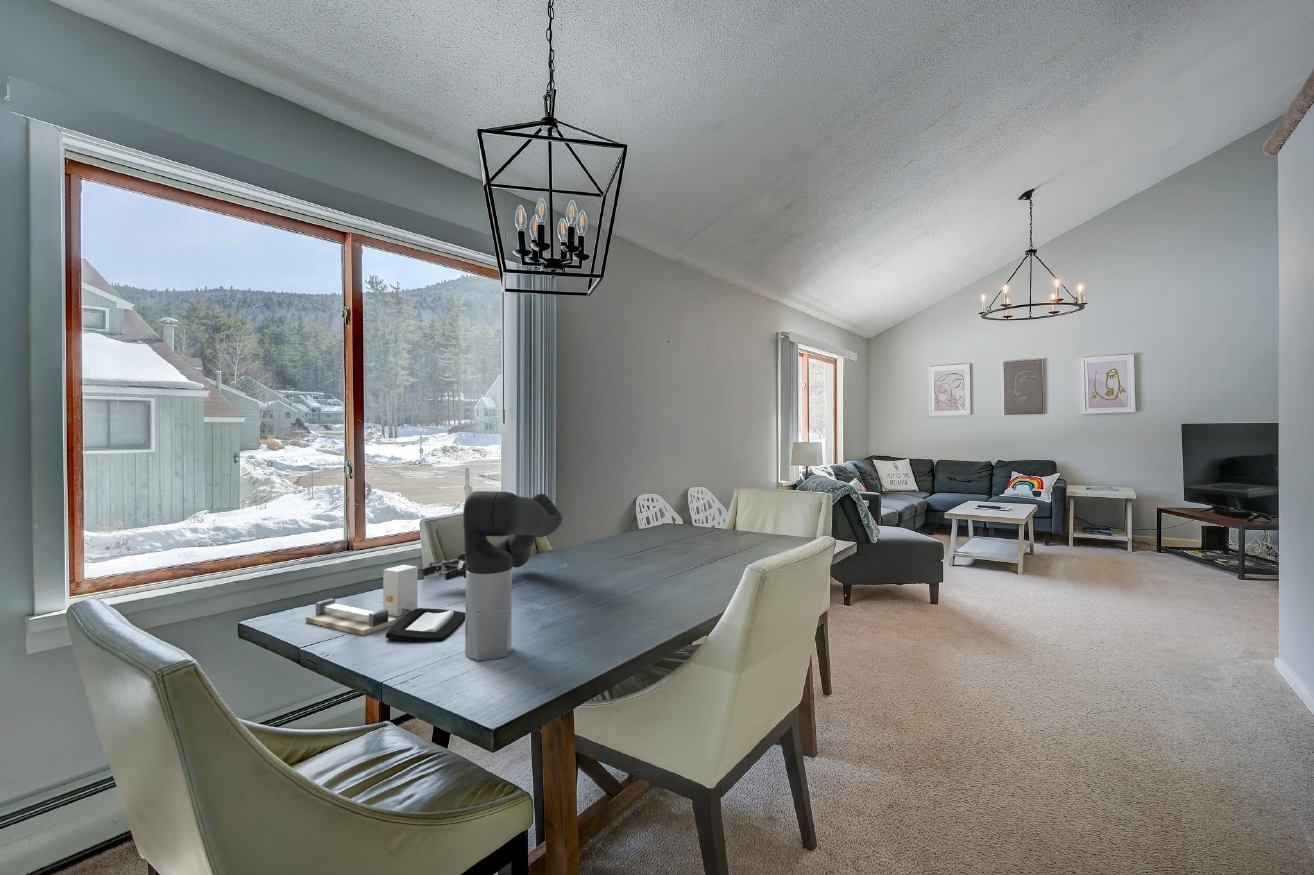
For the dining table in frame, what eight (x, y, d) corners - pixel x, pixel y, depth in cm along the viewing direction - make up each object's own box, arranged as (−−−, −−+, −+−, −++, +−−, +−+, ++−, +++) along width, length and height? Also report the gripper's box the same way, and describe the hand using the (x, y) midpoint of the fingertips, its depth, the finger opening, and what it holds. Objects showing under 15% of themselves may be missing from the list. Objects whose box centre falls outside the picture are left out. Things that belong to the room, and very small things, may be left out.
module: (417, 609, 147) (417, 566, 147) (395, 617, 141) (395, 572, 141) (403, 607, 149) (403, 564, 149) (381, 614, 143) (381, 570, 143)
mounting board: (397, 623, 136) (397, 618, 136) (363, 635, 128) (363, 630, 128) (340, 611, 144) (340, 607, 144) (305, 622, 136) (305, 617, 136)
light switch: (445, 635, 124) (380, 629, 124) (444, 649, 124) (378, 643, 124) (471, 607, 144) (415, 602, 143) (470, 619, 144) (414, 614, 143)
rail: (388, 621, 134) (388, 609, 134) (373, 627, 130) (373, 614, 130) (331, 609, 142) (331, 598, 142) (315, 614, 138) (315, 602, 138)
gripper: (495, 577, 167) (453, 591, 153) (459, 571, 173) (415, 584, 159) (495, 551, 167) (453, 563, 152) (459, 546, 173) (415, 557, 159)
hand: (434, 574), depth 156 cm, fingers open, 8 cm apart
